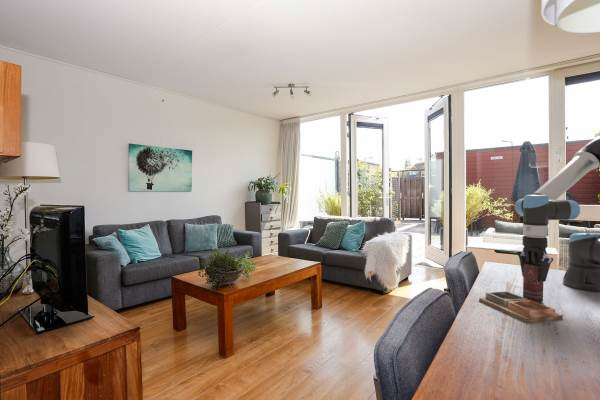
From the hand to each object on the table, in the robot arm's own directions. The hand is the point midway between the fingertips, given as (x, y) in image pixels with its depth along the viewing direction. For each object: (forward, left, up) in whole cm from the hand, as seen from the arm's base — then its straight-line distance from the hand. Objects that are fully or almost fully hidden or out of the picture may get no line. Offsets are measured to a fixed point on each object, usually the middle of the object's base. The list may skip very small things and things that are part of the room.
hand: (533, 298), depth 121 cm
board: (+13, +6, -1) cm, 14 cm away
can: (0, 0, -1) cm, 1 cm away
